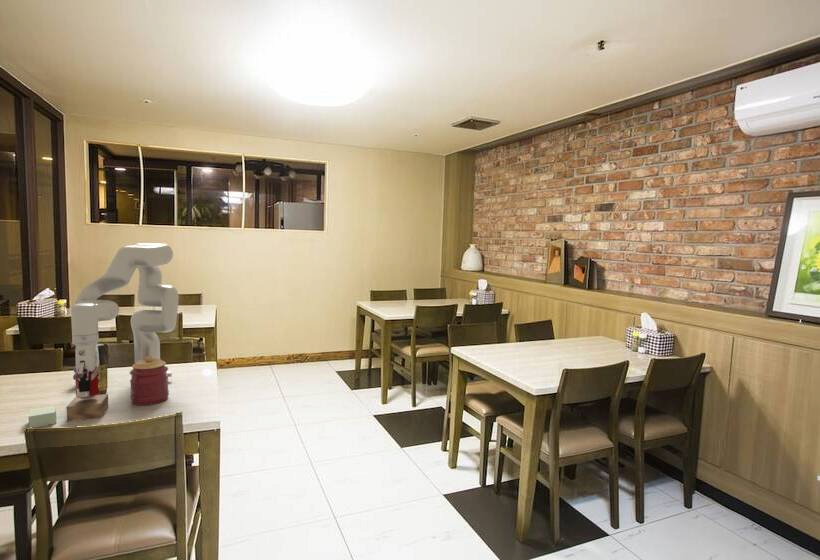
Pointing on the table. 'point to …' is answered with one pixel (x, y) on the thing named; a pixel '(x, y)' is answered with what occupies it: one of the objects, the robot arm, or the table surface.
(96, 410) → the walnut block
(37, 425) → the green block
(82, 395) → the soda can
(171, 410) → the table surface
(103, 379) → the sauce bottle
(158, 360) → the canister
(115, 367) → the table surface
